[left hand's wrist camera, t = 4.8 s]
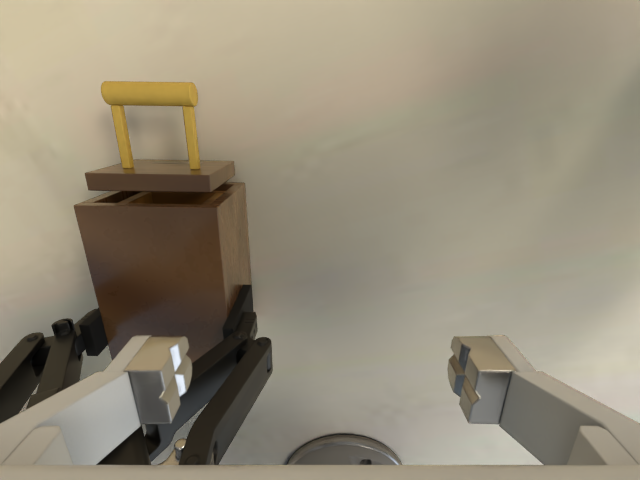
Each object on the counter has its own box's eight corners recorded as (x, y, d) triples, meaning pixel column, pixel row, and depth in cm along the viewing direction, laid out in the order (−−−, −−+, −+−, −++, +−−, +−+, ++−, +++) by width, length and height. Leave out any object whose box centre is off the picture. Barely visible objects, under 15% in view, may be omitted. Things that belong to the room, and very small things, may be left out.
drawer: (122, 85, 27) (62, 78, 21) (228, 86, 27) (199, 80, 21) (159, 297, 34) (122, 339, 28) (244, 299, 34) (226, 341, 28)
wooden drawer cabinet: (137, 180, 31) (72, 205, 23) (245, 182, 31) (217, 207, 23) (162, 319, 36) (116, 377, 28) (253, 320, 36) (233, 380, 28)
